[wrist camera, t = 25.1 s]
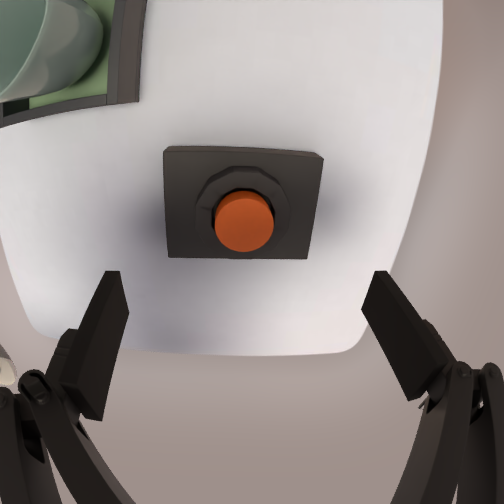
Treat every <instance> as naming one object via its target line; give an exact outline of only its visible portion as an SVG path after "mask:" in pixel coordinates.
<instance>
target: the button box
mask: <svg viewBox="0 0 504 504" xmlns="http://www.w3.org/2000/svg"><path fill="white" fill-rule="evenodd" d="M323 160H324V159H323V158H322V157H321V156H319V155H318V154H316V153H312V152H302V151H291V150H279V149H265V148H247V147H218V146H170V147H168V148H167V149H165V150H164V151H163V177H164V203H165V221H166V236H167V249H168V257H169V258H228V259H307V257H308V251H309V246H310V241H311V235H312V230H313V224H314V218H315V212H316V206H317V200H318V194H319V187H320V181H321V174H322V167H323ZM237 191H250V192H254V193H256V194H258V195H260V196H261V197H262V198H263V199H264V200H265V201H266V203H267V204H268V206H269V209H270V211H271V214H272V216H273V221H274V228H273V232H272V234H271V236H270V238H269V240H268V241H267V242H266V243H265V244H264V245H263V246H261V247H260V248H258V249H255V250H253V251H248V252H239V251H234V250H231V249H229V248H228V247H226V246H225V245H223V244H222V243H221V242H220V240H219V239H218V237H217V235H216V231H215V214H216V209H217V207H218V205H219V203H220V202H221V201H222V200H223V199H224V198H225V197H226V196H227V195H229V194H231V193H233V192H237Z"/></svg>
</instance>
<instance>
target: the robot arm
mask: <svg viewBox="0 0 504 504" xmlns="http://www.w3.org/2000/svg"><path fill="white" fill-rule="evenodd" d="M361 310H362V312H363V314H364V316H365V318H366V319H367V321H368V323H369V325H370V327H371V329H372V331H373V332H374V334H375V336H376V338H377V340H378V342H379V344H380V346H381V348H382V350H383V351H384V353H385V355H386V357H387V359H388V361H389V363H390V365H391V367H392V369H393V371H394V373H395V375H396V377H397V379H398V381H399V383H400V385H401V388H402V390H403V392H404V394H405V396H406V398H407V400H408V401H411V400H414V399H417V398H420V397H421V396H422V395H423V394H424V393H425V391H426V390H427V392H428V394H429V395H428V396H427V398H426V399H425V400H424V401H423V402H422V403H421V404H420V406H419V409H420V408H421V407H422V406H423V405H424V404H425V405H424V409H423V413H422V417H421V421H420V424H419V428H418V431H417V434H416V438H415V441H414V444H413V447H412V450H411V453H410V456H409V459H408V462H407V464H406V467H405V470H404V472H403V475H402V477H401V480H400V483H399V485H398V487H397V490H396V492H395V494H394V497H393V499H392V501H391V503H390V504H452V501H453V497H454V494H455V491H456V487H457V484H458V490H457V502H456V504H504V381H503V376H502V373H501V371H500V369H499V367H498V366H497V365H495V364H494V363H491V362H490V363H486V364H485V365H484V366H483V368H482V369H481V370H480V369H471V367H470V366H469V365H468V364H466V363H465V362H461V361H458V362H457V361H456V359H455V358H454V356H453V355H452V353H451V351H450V350H449V348H448V347H447V345H446V344H445V342H444V341H442V338H441V336H440V335H438V332H437V331H436V329H435V328H434V326H433V325H432V324H430V323H429V322H428V321H427V320H426V319H425V320H422V319H421V317H420V316H419V315H418V313H417V311H416V310H415V309H414V307H413V306H412V304H411V303H410V302H409V301H408V299H407V298H406V296H405V295H404V294H403V292H402V291H401V290H400V288H399V287H398V285H397V284H396V283H395V282H394V280H393V279H392V278H391V276H390V275H389V274H388V272H387V271H375V272H374V275H373V278H372V281H371V284H370V287H369V289H368V292H367V295H366V298H365V300H364V303H363V306H362V308H361ZM128 316H129V310H128V306H127V302H126V297H125V293H124V289H123V285H122V280H121V275H120V271H105V273H104V275H103V277H102V279H101V281H100V283H99V285H98V287H97V289H96V291H95V293H94V295H93V297H92V299H91V302H90V304H89V306H88V308H87V310H86V312H85V315H84V317H83V319H82V321H81V324H80V326H79V328H78V329H70V328H69V329H68V330H67V331H66V332H65V333H64V334H63V335H62V336H61V338H60V340H59V342H58V345H57V348H56V349H55V352H54V355H53V356H52V359H51V361H50V363H49V366H48V369H47V371H46V374H45V375H44V373H43V372H41V371H39V370H35V369H33V370H29V371H27V372H25V373H24V374H23V375H22V376H21V378H20V379H19V382H18V391H19V392H20V393H21V394H13V393H12V392H11V391H10V389H8V388H6V387H0V497H1V501H2V504H62V502H61V498H60V495H59V493H58V489H57V486H56V483H55V479H54V477H53V473H52V468H51V464H50V460H49V456H48V452H47V449H48V451H49V453H50V455H51V458H52V460H53V462H54V464H55V466H56V468H57V469H58V471H59V473H60V475H61V477H62V479H63V481H64V482H65V484H66V486H67V488H68V489H69V491H70V493H71V494H72V496H73V498H74V499H75V501H76V502H77V504H136V503H135V502H134V501H133V500H132V498H131V497H130V496H129V495H128V493H127V492H126V491H125V490H124V488H123V487H122V486H121V484H120V483H119V481H118V480H117V479H116V477H115V476H114V475H113V473H112V472H111V470H110V469H109V467H108V466H107V464H106V463H105V462H104V460H103V459H102V457H101V455H100V454H99V452H98V451H97V449H96V447H95V446H94V444H93V443H92V441H91V439H90V437H89V436H88V434H87V432H86V431H85V429H84V427H83V425H82V423H81V422H80V421H79V416H80V413H82V415H83V416H84V417H85V418H86V419H91V420H96V421H102V419H103V414H104V409H105V404H106V400H107V395H108V390H109V386H110V382H111V378H112V374H113V370H114V366H115V362H116V358H117V354H118V350H119V347H120V343H121V340H122V336H123V333H124V329H125V326H126V322H127V319H128ZM0 372H1V368H0ZM482 401H483V406H482V407H481V408H480V403H481V402H482Z"/></svg>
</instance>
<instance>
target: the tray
mask: <svg viewBox="0 0 504 504" xmlns="http://www.w3.org/2000/svg"><path fill="white" fill-rule="evenodd" d="M85 1H86V2H87V3H88V4H89V5H91V6H92V7H93V8H94V9H95V11H96V12H97V13H98V15H99V17H100V18H101V20H102V24H103V27H104V39H103V44H102V47H101V49H100V52H99V54H98V56H97V58H96V60H95V62H94V63H93V65H92V66H91V68H90V69H89V70H88V71H87V72H86V74H85V75H84V76H83V77H81V78H80V79H79V80H78V81H77V82H75V83H74V84H72V85H71V86H69V87H68V88H65V89H63V90H60V91H58V92H55V93H52V94H49V95H45V96H40V97H35V98H29V99H23V100H17V101H11V102H5V103H0V128H2V127H6V126H9V125H12V124H16V123H20V122H23V121H27V120H31V119H35V118H39V117H44V116H48V115H53V114H58V113H63V112H68V111H73V110H79V109H85V108H92V107H99V106H106V105H114V104H123V103H133V102H139V78H140V61H141V47H142V36H143V27H144V18H145V10H146V3H147V0H85Z"/></svg>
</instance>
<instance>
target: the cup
mask: <svg viewBox="0 0 504 504" xmlns="http://www.w3.org/2000/svg"><path fill="white" fill-rule="evenodd" d="M103 39H104V27H103V24H102V20H101V18H100V17H99V15H98V13H97V12H96V11H95V9H94V8H93V7H92V6H91V5H89V4H88V3H87V2H86V1H85V0H0V103H5V102H11V101H17V100H23V99H29V98H35V97H40V96H45V95H49V94H52V93H55V92H58V91H60V90H63V89H65V88H68V87H69V86H71V85H72V84H74V83H75V82H77V81H78V80H79V79H80V78H81V77H83V76H84V75H85V74H86V72H87V71H88V70H89V69H90V68H91V66H92V65H93V63H94V62H95V60H96V58H97V56H98V54H99V52H100V49H101V47H102V44H103Z"/></svg>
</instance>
